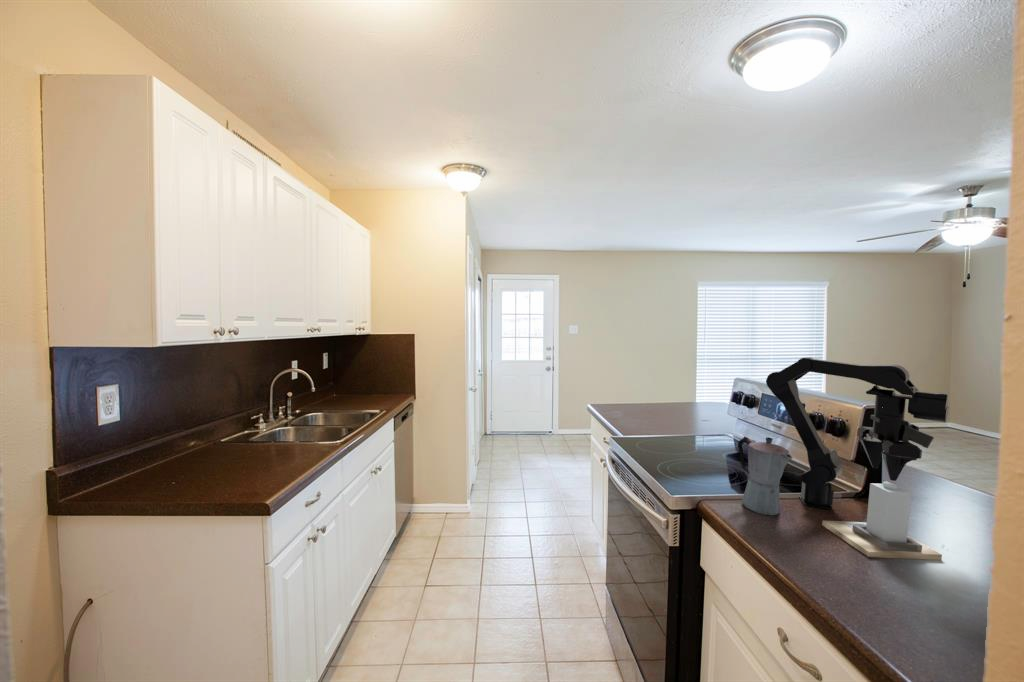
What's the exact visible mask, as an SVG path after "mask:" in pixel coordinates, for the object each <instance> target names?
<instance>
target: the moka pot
mask: <svg viewBox="0 0 1024 682" xmlns="http://www.w3.org/2000/svg"><path fill="white" fill-rule="evenodd" d="M743 444H746V445H747V459H748V460H747V463H748V464H747V466H746V462H745V455H744V448H743ZM737 448H738V452H739V458H740V464H741V468H742V469H743V470H744V471H746V472H749V473H748V474H749V476H748V477H749V478H748V479H747V482H746V487H745V489H744V490H745V491H744V493H743V497H742V501H741V504H742V505H743V506H744V507H745V508H746V509H748V510H749V511H752V512H754V513H757V514H760V515H765V516H776V515H778V514H779V513H780V510H781V507H780V505H781V503H780V484H781V478H782V476H783V474H784V471H785V467H786V465H787V464H788V463H789V462H790V461H791V460H793V455H791V454H790V451H789V449H787V448H785V447H783V446H781V445H779V444H774V443H773V438H771V437H770V436H769V437H766V438H765V441H757V440H755V439H750V438H749V437H746V436H744V437H742V438H741V439H740V440H739V441H738V443H737Z"/></svg>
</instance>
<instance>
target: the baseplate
mask: <svg viewBox="0 0 1024 682" xmlns="http://www.w3.org/2000/svg"><path fill="white" fill-rule="evenodd" d="M866 524H867V521H866V522H865V521H847V520H846V521H843V520H822V523H821V526H823V527H824V528H825V529H827V530H829V531H830V532H832V533H833V534H834V535H836V536H837V537H839V538H840V539H842V540H843V541H844V542H846V543H847V544H848V545H850V546H852V547H853V548H854V549H856V550H857V551H859V552H861V554H864V555H865V556H866V557H868V558H887V559H905V560H906V559H909V560H913V559H914V560H930V561H942V558H943V557H942V556H943V554H942V553H940V552H938V551H937V550H935V549H932V548H931V547H929V546H927V545H925V544H924V543H922V542H920V541H918V540H916V539H915V538H913V537H912V536H910V535H908V534H907V543H903V542H884V541H882V540H881V539H879V538H877V537H876V536H874V535H873V534H871V533H869V532H868V531H866Z"/></svg>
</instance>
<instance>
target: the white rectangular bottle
mask: <svg viewBox="0 0 1024 682" xmlns="http://www.w3.org/2000/svg"><path fill="white" fill-rule="evenodd" d="M868 493H869V494H868V504H867V512H866V513H867V515H866V522H867V524H866V531H868V532H869V533H871V534H873V535H874V536H876V537H877V538H879V539H881V540H882V541H884V542H903V543H907V535H908V534H909V533H908V531H909V524H910V523H909V520H910V511H911V500H912V492H910V491H907V490H905V489H903V488H901V487H899V484H897V483H895V482H892V481H883V482H882V483H873V482H872V483H869V492H868Z"/></svg>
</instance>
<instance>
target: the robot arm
mask: <svg viewBox="0 0 1024 682" xmlns="http://www.w3.org/2000/svg"><path fill="white" fill-rule="evenodd" d="M808 373H816V374H821V375H822V374H823V375H830V376H835V377H842V378H850V379H856V380H860V381H863V382H866V383H869V384H872V385H873V386H872V387H871V389H869V390H866V391H865V394H866V395H873V396H875V399H874V400H875V401H874V412H873V413H874V414H870V420H872V421H873V424H872V427H871V426H862V425H861V426H860V427H859V428H857V431H856V437H858V440H859V442H860V443H861V446H863V449H864V451H865V454H866V456H867V458H868V460H869V463H870V465H871V466H872V467H871V468H873V469H879V467H880V464H881V459H883V463H884V465H885V469H886V472H887V475H888V477H889V478H888V479H889V480H890V481H891V482H892V481H894V482H896V481H897V480H898V478H899V476H900V475H901V473H902V471H903V469H904V468H905V466H906V465H907V464H908V463H909V462H911V461H917V460H918V459H922V455H923V454H922V453H923V450H922V449H921V448H920V447H919V446H917V445H916V444H918V445H920V446H922V448H926V449H928V448H929V447H930V445H931V444H932V442H933V440H934V438H935V437H934V436H933V435H930V434H928V433H925V432H923V431H920V427H919V426H917V425H916V424H913V423H911V422H909V421H907V420H905V413H906V402H907V400H908V404H907V413H908V414H910V415H912V417H913V418H914V419H917V420H918V419H920V420H926V421H933V422H940V423H945V424H946V423H947V422H948V417H949V408H950V407H949V406H948V405H949V401H948V399H949V394H948V393H944V392H936V393H935V392H928V391H919V389H918V388H917V386H915V384H914V383H913V382H912V381H911V380H910V374H909V371H908V370H907V369H906V368H905V367H904V366H901V365H900V364H899V365H898V364H858V363H849V362H841V361H835V360H827V359H818V358H813V357H802V358H800V359H798V360H797V361H795V362H794V363H792V364H790V365H789V366H787V367H785V368H783V369H782V370H780V371H774V372H771V373H769V374H768V375H767V377H766V379H765V383H766V386H767V387H768V389H769V390H770V391H771V393H772V394H773V396H775V398H777V399H778V401H780V402H781V403H782V405H783V407H784V408H785V410H786V413H787V414H788V416H789V418H790V421H791V422H792V424H793V425H794V427H795V429H796V432H797V434H798V436H799V438H800V440H801V442H802V443H803V446H804V447H805V449H806V453H807V454H806V455H807V462H808V466H809V467H810V468H809V469H808V470H806V471H805V472H803V473H802V474H801V475H800V478H801V491H800V492H801V493H800V495H801V497H800V498H799V499H800V500H801V502H802V503H803V504H804V505H805V506H807V507H814V508H819V509H827V510H833V509H834V508H833V504H834V502H833V501H834V490H833V486H832V484H831V482H833V481H834V480H836V478H838V477H839V476H841V474H842V472H843V464H844V462H843V461H842V460H841V459H840V457H839V455H838V452H837V450H836V449H835V448H834V449H831V450H830V449H829V448H828V447H827V446H826V445H825V444H824V443H823V440H822V438H821V436H820V435H819V433H818V431H817V429H816V426H815V425H814V424H813V422H812V420H811V418H810V416H809V414H808V412H807V410H806V408H805V407H804V405H803V403H802V401H801V399H800V395H799V394H800V393H799V387H798V383H797V381H798V380H799V379H801V378H803V377H804V376H806V375H807V374H808ZM880 387H882V388H880ZM896 392H898V393H899V394H898V393H896ZM882 407H883V408H882ZM911 442H913V443H911ZM914 443H915V444H914Z"/></svg>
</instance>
